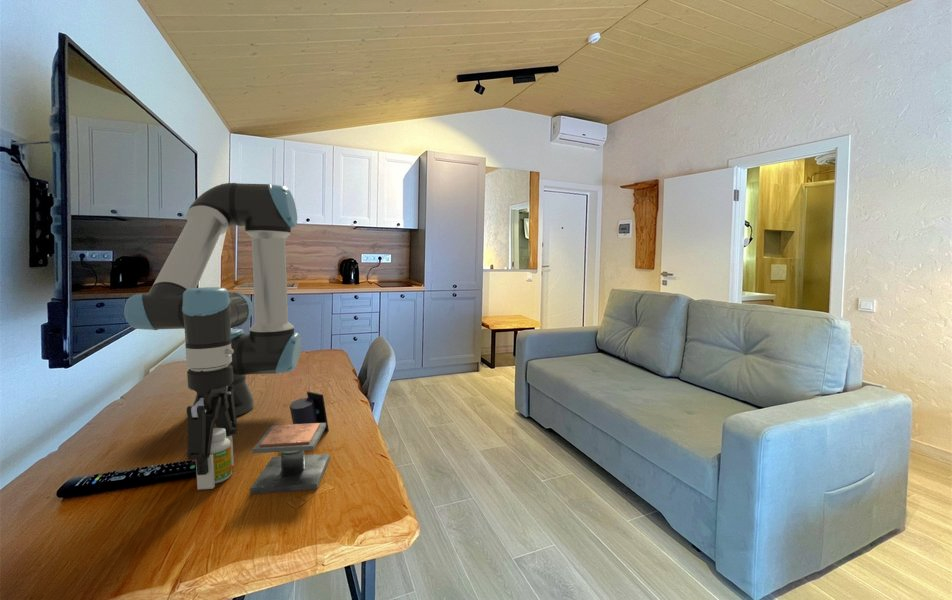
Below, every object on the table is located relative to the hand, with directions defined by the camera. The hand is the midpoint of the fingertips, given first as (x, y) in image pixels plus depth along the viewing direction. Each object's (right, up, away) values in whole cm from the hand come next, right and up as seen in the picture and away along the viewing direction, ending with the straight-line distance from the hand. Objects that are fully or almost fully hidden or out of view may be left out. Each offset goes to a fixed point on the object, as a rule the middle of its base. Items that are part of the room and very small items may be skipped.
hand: (216, 476), depth 81 cm
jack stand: (+15, 0, +1) cm, 15 cm away
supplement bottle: (0, 0, 0) cm, 1 cm away
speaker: (+10, +2, +21) cm, 23 cm away
